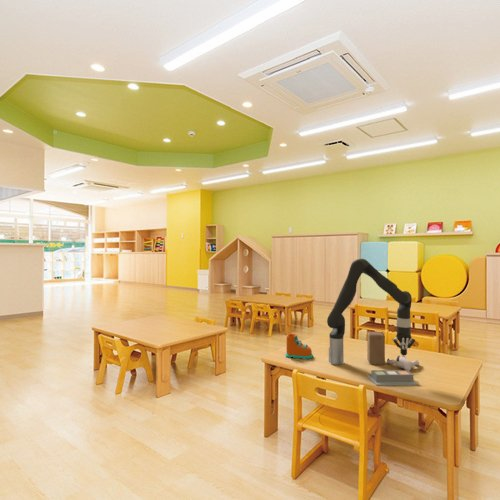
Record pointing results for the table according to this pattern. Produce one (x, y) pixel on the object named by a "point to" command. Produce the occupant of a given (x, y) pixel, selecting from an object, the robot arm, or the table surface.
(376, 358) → the wooden block
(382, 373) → the key sage
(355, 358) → the table surface
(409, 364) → the yeti figurine
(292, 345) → the toy shoe
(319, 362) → the table surface
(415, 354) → the table surface
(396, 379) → the keypad board
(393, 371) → the key grey
